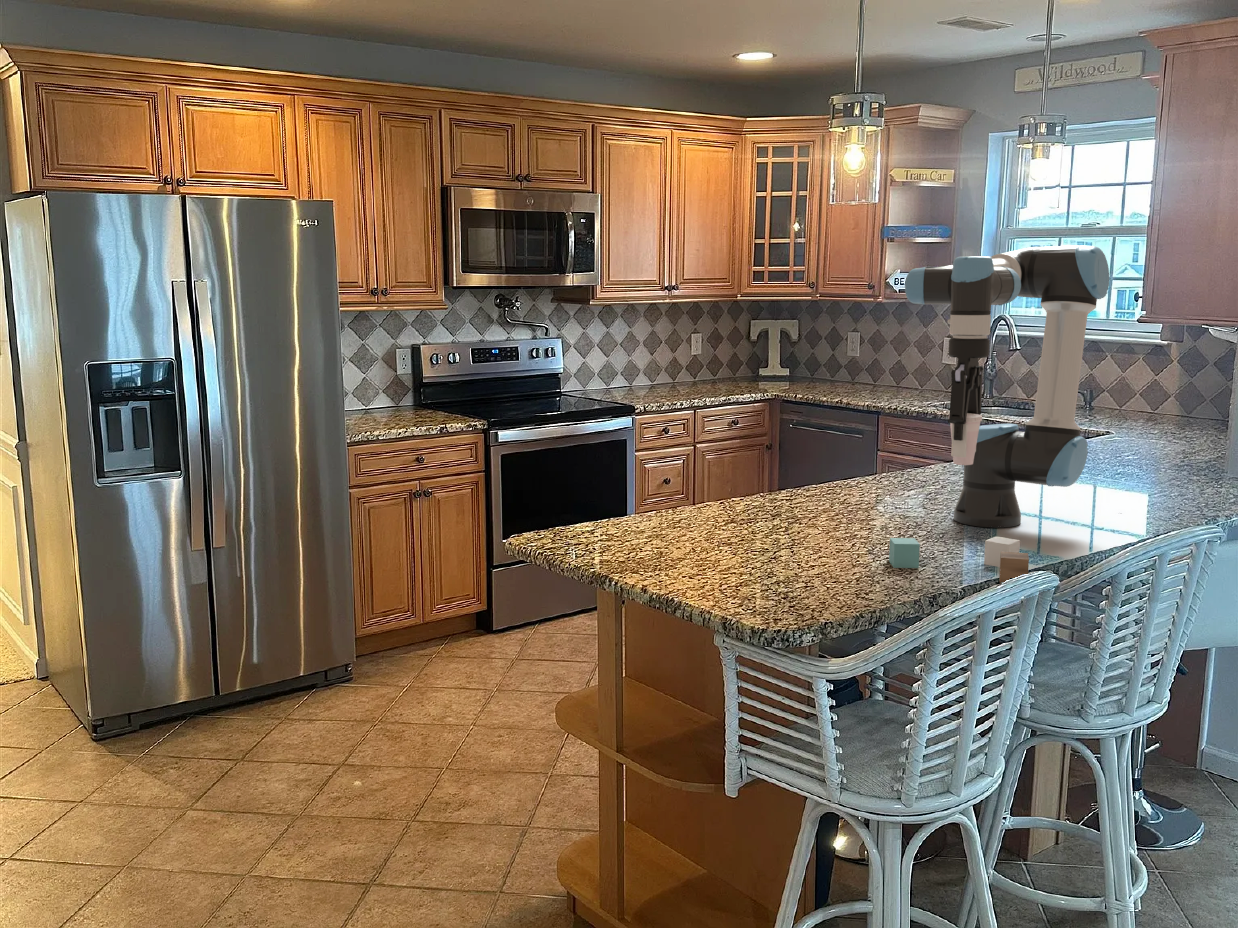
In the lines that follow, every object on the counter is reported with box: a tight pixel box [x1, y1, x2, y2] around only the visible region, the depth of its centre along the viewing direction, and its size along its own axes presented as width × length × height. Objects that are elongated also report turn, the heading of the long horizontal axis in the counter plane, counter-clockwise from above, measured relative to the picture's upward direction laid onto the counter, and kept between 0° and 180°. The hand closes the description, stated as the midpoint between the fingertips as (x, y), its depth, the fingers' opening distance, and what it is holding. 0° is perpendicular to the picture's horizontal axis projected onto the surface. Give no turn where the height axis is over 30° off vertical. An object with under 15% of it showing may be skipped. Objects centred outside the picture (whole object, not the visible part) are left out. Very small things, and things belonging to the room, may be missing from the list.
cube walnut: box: [998, 551, 1030, 584], centre depth 205 cm, size 5×5×5 cm
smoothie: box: [948, 413, 983, 466], centre depth 212 cm, size 6×6×14 cm
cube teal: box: [888, 537, 921, 569], centre depth 217 cm, size 5×5×5 cm
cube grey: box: [983, 536, 1021, 568], centre depth 217 cm, size 5×5×5 cm
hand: (963, 453), depth 213 cm, fingers closed on smoothie, 6 cm apart
